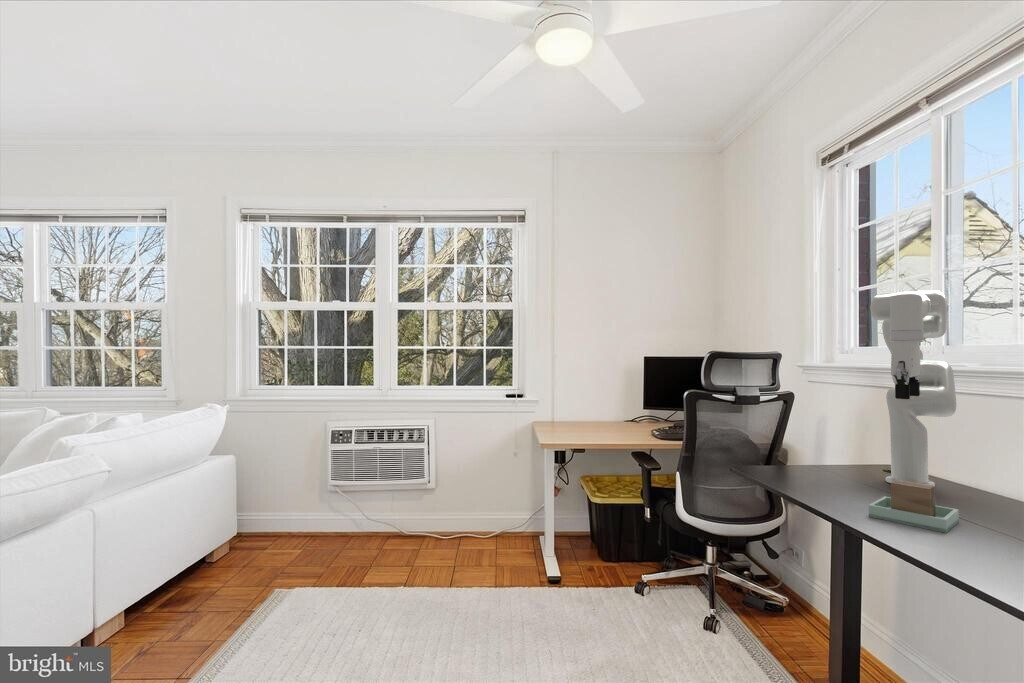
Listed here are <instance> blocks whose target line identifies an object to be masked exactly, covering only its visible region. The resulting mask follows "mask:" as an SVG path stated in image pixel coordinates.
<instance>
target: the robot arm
mask: <svg viewBox="0 0 1024 683" xmlns="http://www.w3.org/2000/svg"><path fill="white" fill-rule="evenodd" d="M869 309H870V314H871V316H872V318H873V319H874V320H875V321H883V322H882V325H881V326H882V327H881V329H882V336H883V339H884V342H885V345H886V346H887V348H888V350H889V353H890V354H891V355H890V356H891V358H890V361H891V362H890V375H891V378H892V382H893V383H894V386H892V387H890V388H889V389H888V390H887V392H886V396H885V397H886V405H887V410H888V415H889V416H888V417H889V423H890V424H889V427H890V434H889V436H890V472H891V473H890V474H891V475H889V476H886V477H885V482H886V483H889V484H891V482H893V481H895V480H902V481H908V482H915V483H921V484H928V485H934V486H935V487H936V483H935V482H934V481H932V480H929V455H928V454H929V448H928V447H929V446H928V444H929V443H928V442H929V441H928V429H927V427H926V426H925V424H923V422H921V421H920V420H919V419H918V418H917V417H935V418H937V417H938V418H948V417H952V416H954V415H955V413H956V411H957V396H956V395H957V394H956V385H955V376H954V371H953V367H952V366H951V365H950V363H948V362H947V361H943V360H924V354H923V351H922V349H921V348H920V343H924V339H936V338H941V337H943V336H944V335H945V334H946V331H947V322H948V321H947V320H948V302H947V299H946V295H945V294H944V293H943V292H941V291H940V290H934V289H933V290H918V291H917V290H915V291H903V292H896V293H890V294H884V295H883V294H882V295H875V296H873V298H872V299H871V303H870V308H869Z"/></svg>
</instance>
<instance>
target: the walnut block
mask: <svg viewBox="0 0 1024 683" xmlns="http://www.w3.org/2000/svg"><path fill="white" fill-rule="evenodd" d="M890 497H891V509H896V510H901V511H906V512H911V513H917V514H922V515H927V516H932V517H936V510H935V505H936V485H935V486H934V485H928V484H921V483H915V482H908V481H902V480H895V481H893V482H891V483H890Z"/></svg>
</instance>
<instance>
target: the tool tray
mask: <svg viewBox="0 0 1024 683" xmlns="http://www.w3.org/2000/svg"><path fill="white" fill-rule="evenodd" d="M935 510H936V517H932V516H927V515H922V514H917V513H911V512H906V511H901V510H896V509H891V496H885V495H884V496H882V497H880V498H879V499H877V500H875V501H874V502H871V503H870V504H868V517H869V518H872V519H873V518H874V519H878V520H883V521H887V522H892V523H897V524H902V525H906V526H912V527H915V528H916V527H917V528H921V529H925V530H930V531H936V532H941V533H944V534H947V533H948V532H949V531H950V530H951V529H952V528H954V527H955V526H956V525H957V524H958V523H959V522H960V518H959V517H960V512H959V511H960V510H959V509H958V508H951V507H946V506H940V505H936V504H935Z"/></svg>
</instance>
